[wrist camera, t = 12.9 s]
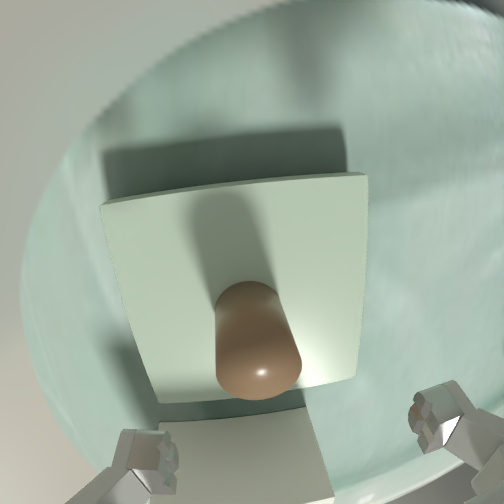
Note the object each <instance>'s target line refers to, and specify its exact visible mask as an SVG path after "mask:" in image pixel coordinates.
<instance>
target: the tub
mask: <svg viewBox="0 0 504 504" xmlns="http://www.w3.org/2000/svg"><path fill="white" fill-rule="evenodd" d="M158 431H168V432H169V434H170V436H171V440H170V441H171V442H173V443H174V444H175V445H176V447H177V451H178V456H179V466H178V469H177V470H176V471H175V472H174V475H175V476H176V478H177V486H176V495H158V494H151V495H152V496H151V497H150V504H333V501H334V498H335V495H334V492H333V489H332V486H331V483H330V479H329V476H328V473H327V470H326V467H325V464H324V461H323V458H322V454H321V451H320V448H319V445H318V442H317V439H316V436H315V433H314V429H313V426H312V423H311V420H310V417H309V414H308V411H307V408H306V407H302V408H297V409H291V410H286V411H280V412H273V413H267V414H259V415H252V416H244V417H235V418H226V419H215V420H202V421H185V422H159V425H158Z"/></svg>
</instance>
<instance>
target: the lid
mask: <svg viewBox="0 0 504 504" xmlns="http://www.w3.org/2000/svg"><path fill="white" fill-rule="evenodd" d="M100 211H101V216H102V221H103V226H104V231H105V235H106V239H107V244H108V248H109V252H110V256H111V260H112V264H113V268H114V272H115V276H116V279H117V283H118V287H119V290H120V294H121V297H122V300H123V304H124V307H125V310H126V314H127V317H128V320H129V323H130V326H131V329H132V332H133V335H134V338H135V341H136V344H137V347H138V350H139V353H140V356H141V358H142V361H143V364H144V367H145V369H146V372H147V375H148V377H149V380H150V382H151V385H152V387H153V390H154V392H155V395H156V397H157V400H158V402H159V404H165V403H185V402H199V401H211V400H222V399H232V398H241V399H246V400H263V399H268V398H272V397H275V396H277V395H279V394H281V393H283V392H285V391H289V390H295V389H301V388H306V387H311V386H316V385H321V384H326V383H331V382H336V381H340V380H344V379H349V378H353V377H355V372H356V366H357V358H358V351H359V343H360V334H361V325H362V315H363V304H364V292H365V278H366V261H367V237H368V175H366V174H363V173H360V172H343V173H326V174H311V175H298V176H285V177H274V178H264V179H253V180H244V181H235V182H226V183H218V184H210V185H202V186H194V187H187V188H180V189H173V190H166V191H159V192H153V193H147V194H140V195H134V196H128V197H123V198H117V199H111V200H107V201H106V202H104V203H103V204H101V205H100Z"/></svg>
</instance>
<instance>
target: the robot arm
mask: <svg viewBox="0 0 504 504" xmlns="http://www.w3.org/2000/svg"><path fill="white" fill-rule="evenodd" d="M413 400H414V402H415V403H414V404H413V405H412V406H411V407H410V410H409V413H408V421H409V425H410V427H411V429H412V432H414V433H416V434H418V435H419V436H418V440H417V442H418V443H419V445H420V447H421V449H422V451H423V453H424V454H427V453H429V452H432V451H435V450H437V449H440V448H442V447H444V448H445V449H446V450H448V451H449V452H451V453H452V454H454V455H455V456H457V457H458V458H460V459H461V460H463V461H464V462H466V463H467V464H469V465H471V466H472V467H474V468H475V469H477V470H478V471H479V472H478V474H477V475H476V476H475V477H474V478H473V479H472V482H471V485H472V487H473V489H474V491H475V494H476V497H474V498H472V499H470V500H468V501H467V502H465V503H463V504H504V419H503V418H501V417H498V416H496V415H494V414H491V413H489V412H487V411H485V410H482V409H480V408H478V409H476V408H475V407H474V406H473V404H472V403H471V401H470V400H469V399H468V397H467V396H466V394H465V393H464V392H463V390H462V389H461V388H460V386H459V385H458V383H457V382H456V381H454V380H450V381H448V382H445V383H443V384H439V385H436V386H433V387H431V388H428V389H425V390H422V391H419V392H417V393H416V394H415V395H414V398H413ZM170 440H171V436H170V434H169V432H168V431H158V430H138V429H123V430H122V432H121V433H120V437H119V440H118V444H117V447H116V451H115V455H114V459H113V462H112V466H111V467H107V468H106V469H105V470H103V471H102V472H101V473H100V474H99V475H98V476H97V477H95V478H94V479H93V480H92V481H91V482H90V483H89V484H87V485H86V486H85V487H84V488H83V489H82V490H81V491H79V492H78V493H77V494H76V495H74V496H73V497H72V498H71V499H70V500H69V501H67V502H66V503H65V504H145V503H146V502H147V501H148V499H149V498H150V497H151V496H152V495H151V494H158V495H176V486H177V478H176V476H175V475H174V472H175V471H176V470H177V469H178V466H179V456H178V451H177V447H176V445H175V444H174V443H173V442H171V441H170Z"/></svg>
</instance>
